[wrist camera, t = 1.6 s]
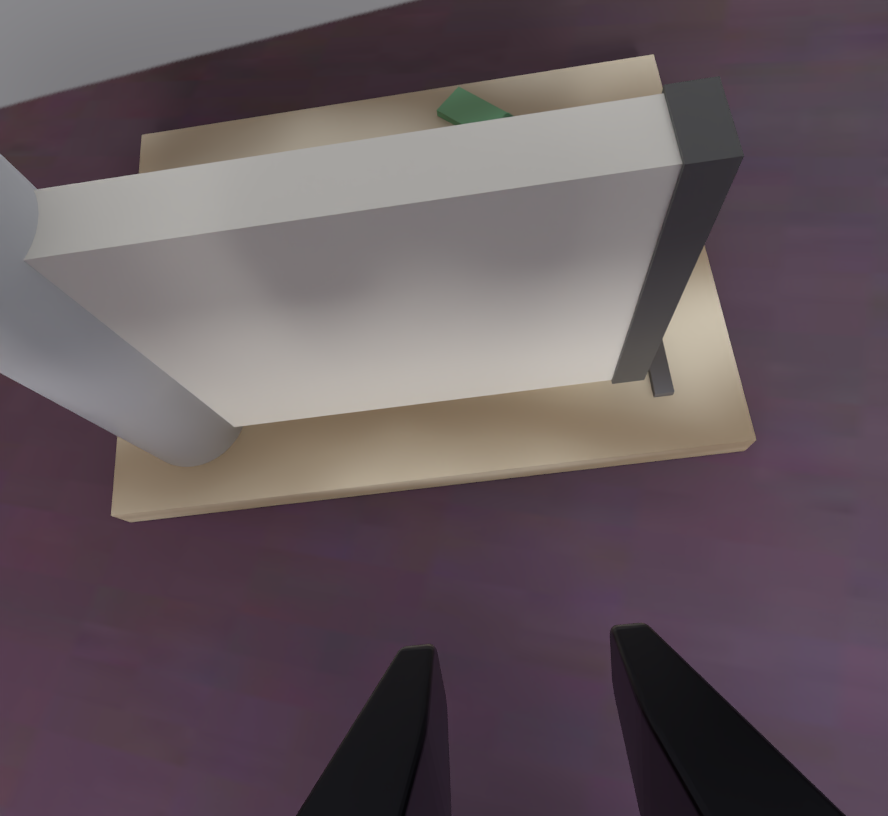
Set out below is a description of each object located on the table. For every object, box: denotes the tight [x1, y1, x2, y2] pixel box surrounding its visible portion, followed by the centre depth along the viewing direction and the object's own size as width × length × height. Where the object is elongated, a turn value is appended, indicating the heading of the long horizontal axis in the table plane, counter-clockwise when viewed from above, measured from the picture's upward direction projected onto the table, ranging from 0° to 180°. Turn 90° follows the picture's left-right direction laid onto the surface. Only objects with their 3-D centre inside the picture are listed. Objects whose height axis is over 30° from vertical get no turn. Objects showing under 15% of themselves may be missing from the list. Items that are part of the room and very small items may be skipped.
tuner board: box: [111, 54, 756, 522], centre depth 25 cm, size 16×21×2 cm
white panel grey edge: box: [0, 76, 744, 467], centre depth 17 cm, size 17×4×12 cm, turn 95°
